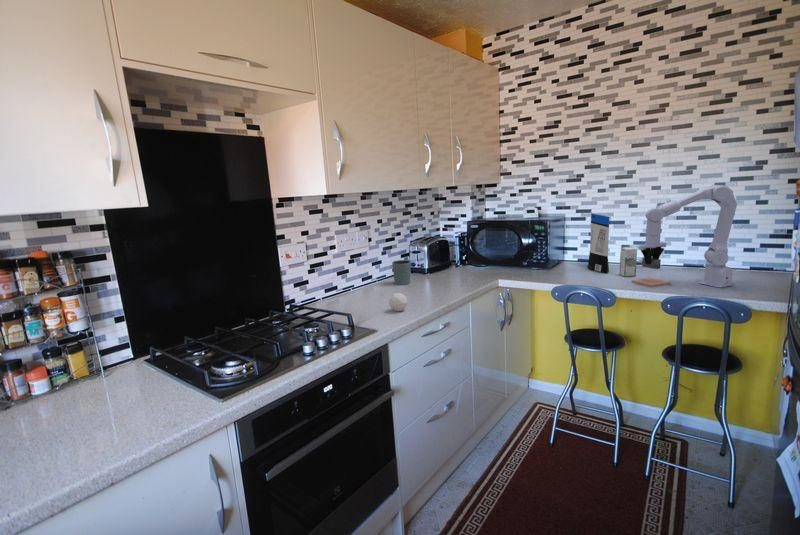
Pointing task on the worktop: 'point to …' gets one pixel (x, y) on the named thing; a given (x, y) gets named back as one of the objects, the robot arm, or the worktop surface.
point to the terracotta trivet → (650, 282)
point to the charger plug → (651, 263)
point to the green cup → (401, 272)
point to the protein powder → (599, 244)
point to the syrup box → (628, 261)
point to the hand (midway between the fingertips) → (651, 263)
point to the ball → (398, 302)
